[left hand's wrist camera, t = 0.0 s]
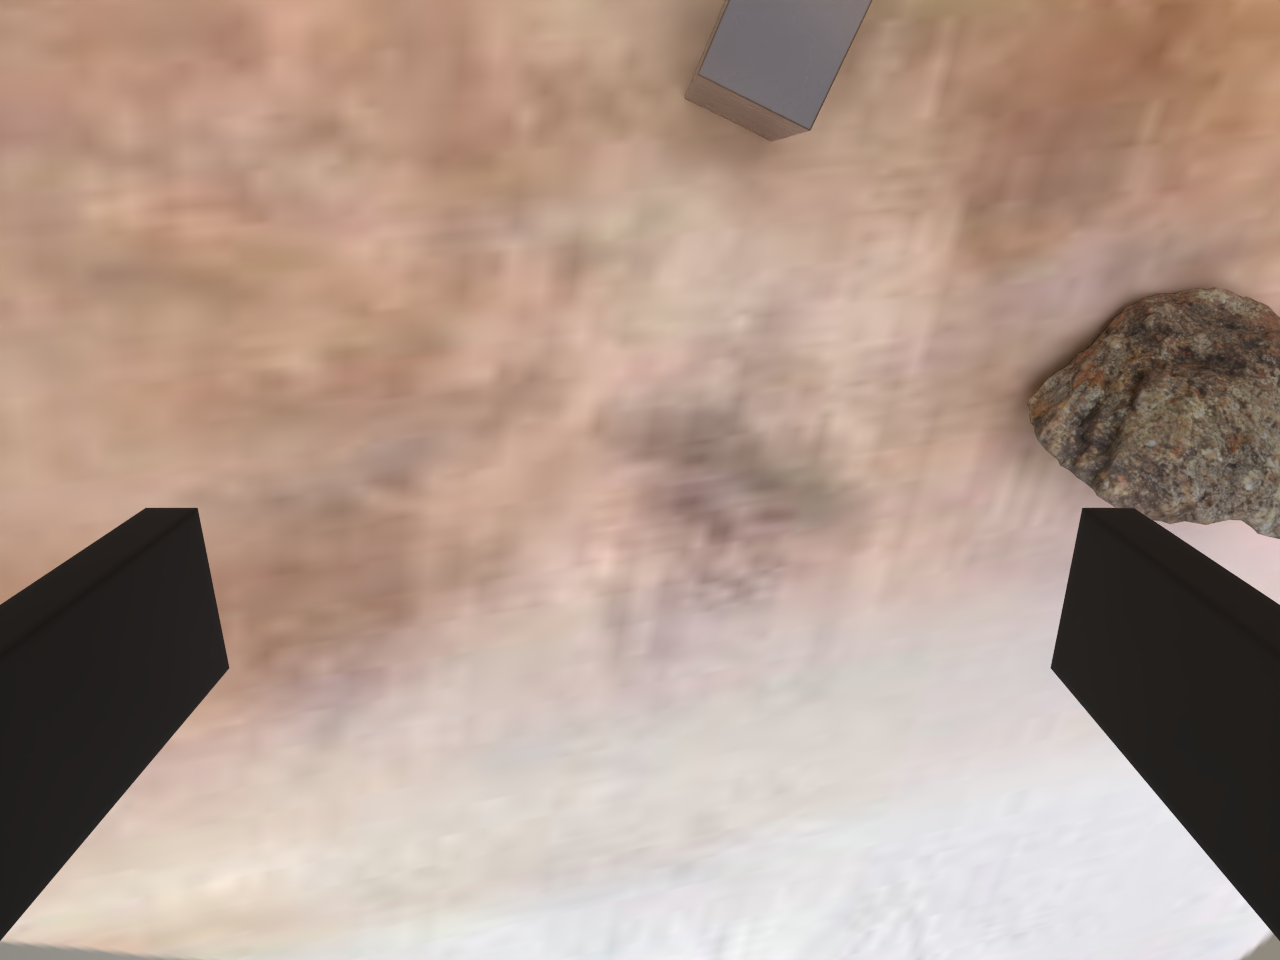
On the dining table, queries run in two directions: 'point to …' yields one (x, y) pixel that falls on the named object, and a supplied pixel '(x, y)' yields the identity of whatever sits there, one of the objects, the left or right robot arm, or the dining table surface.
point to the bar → (775, 61)
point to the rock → (1175, 410)
